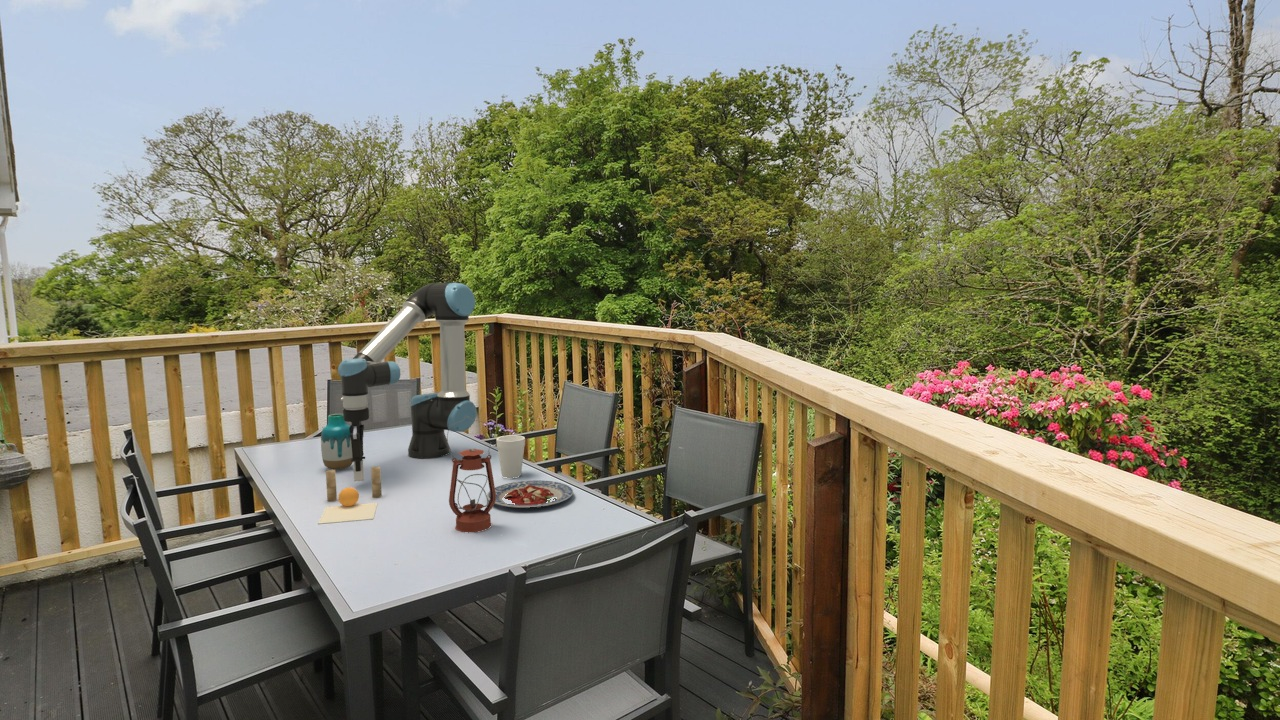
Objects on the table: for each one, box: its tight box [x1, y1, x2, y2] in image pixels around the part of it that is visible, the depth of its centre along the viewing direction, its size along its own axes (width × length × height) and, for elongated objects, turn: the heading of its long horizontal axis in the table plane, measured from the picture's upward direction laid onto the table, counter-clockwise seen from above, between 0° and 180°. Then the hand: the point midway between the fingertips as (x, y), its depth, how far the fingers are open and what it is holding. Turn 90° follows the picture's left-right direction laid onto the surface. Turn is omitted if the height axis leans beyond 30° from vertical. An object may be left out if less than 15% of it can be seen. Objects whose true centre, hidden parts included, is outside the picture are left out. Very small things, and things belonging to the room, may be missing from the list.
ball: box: [337, 487, 360, 507], centre depth 198 cm, size 6×6×6 cm
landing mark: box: [317, 502, 378, 525], centre depth 192 cm, size 14×14×1 cm
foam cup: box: [495, 434, 526, 479], centre depth 229 cm, size 10×9×13 cm
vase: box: [320, 413, 354, 471], centre depth 237 cm, size 11×11×19 cm
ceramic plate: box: [486, 479, 574, 509], centre depth 206 cm, size 26×26×3 cm
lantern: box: [446, 417, 496, 534], centre depth 181 cm, size 10×10×30 cm
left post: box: [325, 469, 338, 502], centre depth 203 cm, size 3×3×9 cm
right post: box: [370, 466, 382, 499], centre depth 207 cm, size 3×3×9 cm
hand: (359, 480), depth 218 cm, fingers closed
